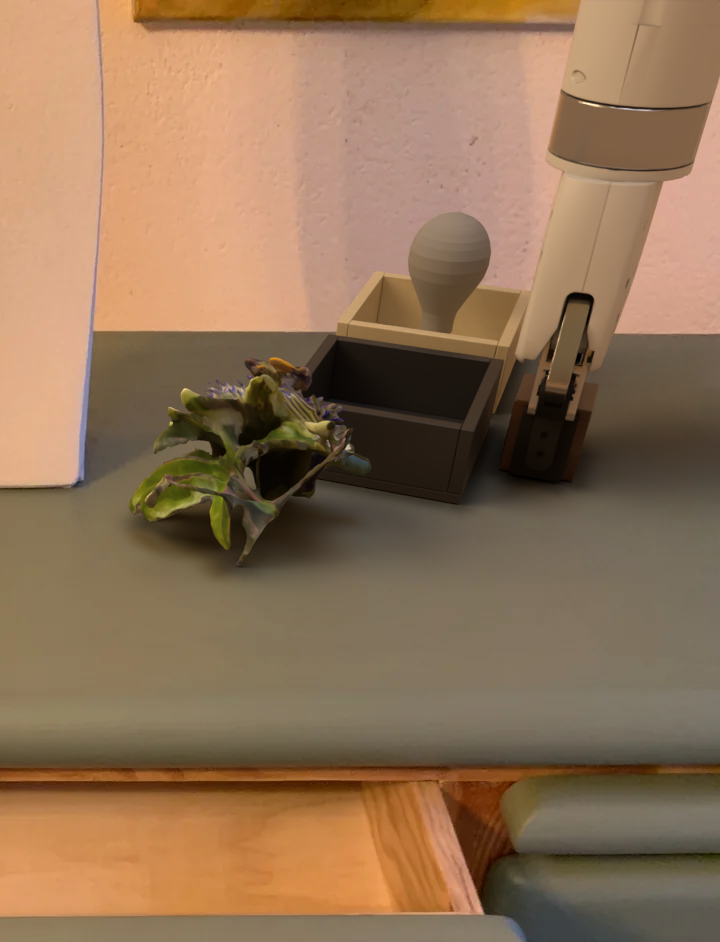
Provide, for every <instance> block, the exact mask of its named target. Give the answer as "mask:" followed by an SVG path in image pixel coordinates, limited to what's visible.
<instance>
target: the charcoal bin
mask: <svg viewBox="0 0 720 942" xmlns="http://www.w3.org/2000/svg"><path fill="white" fill-rule="evenodd" d="M503 364H504V360H502V359H495V358H489V357H483V356H476V355H469V354H462V353H455V352H448V351H442V350H435V349H428V348H421V347H414V346H407V345H401V344H394V343H387V342H380V341H373V340H366V339H360V338H353V337H346V336H338V335H336V334H331V333H328V334H327V336H326V337H325V338H324V339H323V341H322V342H321V343H320V344H319V346H318V348H317V349H316V350H315V351H314V353H313V354H312V356H311V357H310V358H309V359H308V361H307V362H306V364H305V365H304V366H303V367H306V368H308V369H309V370H310V372H311V376H312V383H311V385H310V386H309V387H308V390H306V391H302V396H303V398H304V399H305V400H306V399H307V398H309V397H311V396H312V395H313V394H314V395H315V397H316V398H319V397H323V401H322V402H321V407H322V406H327V405H329V404H332V403H334V404H336V405H337V407H338V406H341V407H342V408H343V410H342V411H341V412H340V413H338V414H337V415H338V417H339V418H341V419H342V420H343V421H344V422H343V423H336V424H335V425H345V426H346V427H347V430H348V429H350V428H352V429H353V431H352V433H351V440H350V441H349V443H350V444H351V445H353V446H354V448H355V451H354V452H355V453H357V454H359V455H361V456H362V457H365V458H368V459H369V461H370V463H371V470H370V471H369V472H368V473H367V474H365V475H357V474H353V473H351V472H348V471H346V470H344V469H342V468H340V467H338V466H334V465H333V466H329V467H328V468H326V469H325V470H324V471H322V472H321V474H320V475H319V476H318V477H317V479H319V480H324V481H329V482H336V483H340V484H347V485H352V486H357V487H363V488H367V489H373V490H380V491H385V492H390V493H395V494H401V495H406V496H411V497H418V498H424V499H428V500H433V501H434V500H435V501H439V502H445V503H451V504H456V505H459V504H460V501H461V499H462V497H463V494H464V492H465V489H466V487H467V484H468V481H469V479H470V476H471V474H472V471H473V469H474V466H475V464H476V462H477V459H478V457H479V453H480V451H481V449H482V446H483V444H484V442H485V439H486V436H487V434H488V432H489V429H490V425H491V421H492V417H493V414H492V412H493V408H494V403H495V399H496V395H497V390H498V386H499V382H500V377H501V373H502V368H503Z"/></svg>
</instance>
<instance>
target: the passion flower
mask: <svg viewBox="0 0 720 942" xmlns="http://www.w3.org/2000/svg"><path fill="white" fill-rule="evenodd" d="M243 364H244V366H245V368H246V369H247V370H248V371H249V373H250V374H251V375H249V374H247V375H246V377H247V380H248V382H249V383H248V386H247V387H246V385H245V384H244V383H243V382H242V380H241V381H240V380H239V379H238V380H237V383H238V385H239V386H240V387H239V386H237V385H235V384H233V385H230V384H229V382H227V381H224V384H223V383H221V382H220V380H219V379H215V382H216V384H217V385H218V386H219V388H218V387H216V386H214V387H213V386H210V387H207V388H206V389H207V390H204V393H206V394H207V395H206V396H205V395H202V394H198V393H196V392H194V391H192V390H191V389H189V388H185V387H184V388H183V389H182V390H181V392H180V401H181V403H182V405H183V407H184V408H185V409H186V410H187V411H188V412H183V411H180V410H179V409H175V408H173V407H172V406H167V413H166V414H167V416H168V417H169V418H170V419H171V421H170V422H169V424H168V428H166V429H165V430H163V431H162V432H161V434H159V436H158V438H157V439H156V440H155V442H154V444H153V449H152V454H153V455H157V454H158V452H162V451H163V450H166V448H168V447H169V448H171V449H172V448H173V447H175V446H178V445H187V443H188V442H189V441H190V442H194V441H195V442H196V441H198V442H199V441H202V442H207V443H209V445H210V448H211V454H210V452H209V451H206V450H204V449H201V448H197V447H195V448H194V450H191V451H189V452H186V453H184V454H183V455H182V456H178V455H177V456H175V457H173V458H171V459H169V460H167V461H164V462H163V463H162V464H160V465H159V466H158V467H157V468H156V469H155V470H154V471H153V472H151V473H150V475H149V476H148V477H143V480H142V481H141V483H140V484H139V486H137V488H136V490H135V491H134V493H133V495H132V496H131V497H130V499H129V503H128V511H129V512H130V513H131V514H132V515H133V516H135V515H137V514H142V516H143V517H144V519H145V520H146V521H147V522H148V521H149V522H150V523H153V522H157V521H161V520H164V519H168V518H170V517H171V516H173V515H175V514H179V513H181V512H183V511H186V510H189V509H191V508H192V509H193V508H194V507H196V506H198V505H204V504H206V503H207V502H210V501H211V505H210V509H209V518H210V526H211V529H212V533H213V535H214V537H215V539H216V540H217V541H218V543H219V544H220V545H221V546H222V548H223V549H224V550H226V551H229V550H230V549H231V546H232V542H231V518H232V512H233V510H234V509H235V507H236V506H237V505H241V506H242V508H243V517H242V521H241V523H242V527H243V528H244V530H245V533H246V541H245V544H244V548H243V551H242V553H241V555H240V556H239V558H238V560H237V561H236V563H235V566H239V567H240V566H242V563H243V562H244V560H245V559H246V558H247V556H248V555H249V553H250V552H251V550H252V549H253V546H254V544H255V543H256V541H257V539H258V538H259V537H260V535H261V534H262V532H263V531H264V529H266V526H267V525H268V524H269V523H270V522H272V521H273V520H275V519H276V518H278V517H279V516H280V514H281V511H282V510H283V507H284V506H285V504H286V503H287V501H288V500H289V499H290V497H294V498H295V497H297V498H306V499H311V498H312V497H313V496H314V495H315V492H316V485H317V482H316V481H317V479H318V478H317V477H318V476H319V475H320V474H321V472H322V471H324V470H325V469H326V468H328V467H329V466H333V465H334V466H338V467H340V468H342V469H344V470H346V471H348V472H351V473H353V474H357V475H365V474H367V473H368V472H369V471H370V470H371V463H370V461H369V459H368V458H365V457H362V456H361V455H359V454H357V453H355V452H354V451H355V448H354V446H353V445H351V444H350V443H349V441H350V440H351V433H352V431H353V429H352V428H350V429H348V430H347V427H346V426H345V425H335V424H336V423H343V422H344V421H343V420H342V419H341V418H339V417H338V415H337V414H338V413H340V412H341V411H342V410H343V408H342V407H341V406H338V407H337V405H336V404H334V403H332V404H329V405H327V406H322V407H321V402H322V401H323V397H319V398H316V397H315V395H314V394H313V395H312V396H311V397H309V398H307V399H306V400H305V399H304V398H303V396H302V391H306V390H308V387H309V386H310V385H311V383H312V376H311V372H310V370H309V369H308V368H306V367H304V366H294V365H292V364H291V363H289V362H288V361H286V360H285V359H281V358H280V357H270V358H269V360H268V362H267V361H266V360H260V359H258V358H257V359H256V358H254V357H253V358H252V357H247V358H246V359H245V360H244V363H243ZM207 384H208V385H210V384H211V383H210V382H207ZM246 468H248V469H250V472H251V473H252V477H253V481H254V486H255V489H254V488H251V486H249V484H248V482H247V481H246V477H245V470H246ZM235 492H239V493H243V494H245V495H247V496H248V497H249V498H250V499H244V498H241V497H239V496H238V495H237V494H236V493H235Z"/></svg>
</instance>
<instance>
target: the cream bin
mask: <svg viewBox="0 0 720 942" xmlns="http://www.w3.org/2000/svg"><path fill="white" fill-rule="evenodd" d="M530 292H531V290H525V289H518V288H517V289H516V288H510V287H501V286H495V285H494V286H493V285H485V284H479V285H478V286H477V288H476V289H475V290H474V291H473V293H472V294H471V295H470V296H469V297H468V299H467V300H466V301H465V302H464V304H463V305H462V306H461V308H460V309H459V310H458V312H457V314H456V316H455V319H454V323H453V328H452V332H451V333H450V334H446V333H439V332H432V331H425V330H420V323H421V318H422V309H421V306H420V303H419V300H418V297H417V294H416V291H415V289H414V286H413V283H412V281H411V277H410V274H408V275H407V274H400V273H393V272H385V271H379V270H375V271H374V272H373V273H372V275H371V276H370V278H369V279H368V281H367V282H366V283H365V284H364V285H363V287H362V289H361V290H360V291H359V292H358V294H357V295H356V297H355V298H354V299H353V301H351V303H350V305H349V306H348V308H347V309H346V310H345V311H344V313H343V314H342V315H341V317H340V318H339V319H338V320H337V322H336V330H335V335H338V336H346V337H353V338H360V339H366V340H373V341H380V342H387V343H394V344H401V345H407V346H414V347H421V348H428V349H435V350H442V351H448V352H455V353H462V354H469V355H476V356H483V357H489V358H495V359H502V360H504V364H503V368H502V373H501V377H500V382H499V386H498V390H497V395H496V399H495V403H494V408H493V412H492V415H493V414H496V411H497V408H498V406H499V404H500V401H501V399H502V396H503V393H504V391H505V388H506V387H507V384H508V381H509V378H510V376H511V374H512V371H513V368H514V366H515V363H516V361H517V358H516V356H515V352H516V348H517V344H518V340H519V337H520V333H521V329H522V325H523V321H524V317H525V313H526V308H527V304H528V300H529V296H530Z"/></svg>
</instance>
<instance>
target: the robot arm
mask: <svg viewBox="0 0 720 942" xmlns="http://www.w3.org/2000/svg"><path fill="white" fill-rule="evenodd" d="M568 50H569V51H568V56H567V59H566V64H565V69H564V73H563V78H562V82H561V88H560V91H559V95H558V99H557V103H556V108H555V113H554V117H553V122H552V126H551V130H550V131H551V132H550V135H549V139H548V145H547V147H546V152H545V158H544V160H545V162H546V163H548V165H549V166H550V167H552V168H554V169H556V170H559V171H561V174H560V178H559V181H558V183H557V187H556V190H555V193H554V196H553V200H552V204H551V207H550V211H549V215H548V217H547V222H546V226H545V229H544V234H543V238H542V242H541V246H540V249H539V253H538V258H537V261H536V262H537V263H536V267H535V271H534V276H533V278H532V279H533V280H532V283H531V288H530V291H531V292H530V296H529V300H528V304H527V308H526V313H525V317H524V321H523V325H522V329H521V333H520V337H519V340H518V344H517V348H516V352H515V356H516V360H517V361H518V362H519V363H520V364H524V363H525V362H526V360H530V361H535V360H536V359H537V358H538V357H539V355H540V358H539V361H538V363H537V370H536V373H535V375H536V377H535V381H534V385H533V389H532V393H531V397H530V401H529V405H528V408H524V410H523V414H522V418H521V422H520V426H519V430H518V434H517V438H516V442H515V446H514V450H513V455H512V459H511V463H510V467H509V470H510V471H509V472H510V473H511V474H512V475H516V476H522V477H528V478H533V479H539V480H545V481H550V482H559V481H562V480H561V478H562V477H563V473H564V470H565V466H566V463H567V459H568V455H569V452H570V448H571V445H572V441H573V437H574V434H575V430H576V427H577V423H578V420H579V416H575V414H576V410H577V407H578V403H579V399H580V396H581V392H582V389H583V385H584V382H586V377H587V375H588V374H589V373H592V372H595V371H597V370H598V369H599V368H601V367H602V364H603V362H604V361H605V360H604V359H605V357H606V355H607V352H608V350H609V347H610V345H611V343H612V340H613V337H614V335H615V333H616V330H617V327H618V325H619V322H620V319H621V317H622V315H623V311H624V309H625V306H626V303H627V300H628V297H629V295H630V292H631V289H632V286H633V282H634V280H635V277H636V273H637V271H638V268H639V264H640V262H641V258H642V255H643V251H644V248H645V245H646V242H647V239H648V236H649V233H650V229H651V225H652V222H653V219H654V216H655V212H656V209H657V205H658V202H659V199H660V195H661V191H662V188H663V185H664V182H669V181H674V180H679V179H683V178H684V177H688V176H689V175H690V174H691V173H692V171H693V168H694V163H695V161H696V157H697V154H698V150H699V147H700V143H701V140H702V138H703V133H704V130H705V127H706V123H707V120H708V117H709V114H710V110H711V108H712V104H713V100H714V97H715V94H716V90H717V88H718V85H719V81H720V0H580V2H579V4H578V10H577V15H576V19H575V24H574V28H573V33H572V37H571V41H570V46H569V49H568ZM545 376H547V377H548V378H547V380H545ZM570 380H575V384H574V387H573V384H570ZM568 403H569V406H568ZM567 407H568V408H567Z"/></svg>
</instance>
